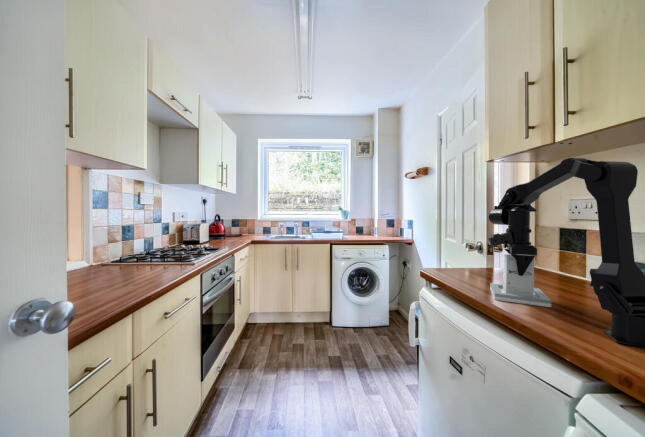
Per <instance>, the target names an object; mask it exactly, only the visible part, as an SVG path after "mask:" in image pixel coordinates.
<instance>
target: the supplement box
mask: <svg viewBox="0 0 645 437" xmlns="http://www.w3.org/2000/svg"><path fill="white" fill-rule="evenodd" d="M502 272H503V273H502V275H503V276H502V285H503V290H504V292H505V293H508V294H516V295H524V296H532V297H533V295H534V288H535V286H534V285H535V284H534V281H535V280H534V279H535V258H534V259H533V260H532V262H531V263H530V265H529V266H528V268H527V270H526V271H525V273H524V275H523V276H519V275H518V271H517V265H516V260H515V258H514V257H513V256H512V255H511V254H509V253H503V270H502Z"/></svg>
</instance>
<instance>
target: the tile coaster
mask: <svg viewBox="0 0 645 437" xmlns="http://www.w3.org/2000/svg"><path fill="white" fill-rule="evenodd" d="M489 284H490V285H489V286H490V287H489V289H490V292H491V295H492V297H493V299H494V301H502V302H509V303H514V304H515V303H518V304H522V305H523V304H525V305H531V306H537V307H538V306H539V307H544V308H545V307H546V308H552V299H550V298H549V296H547V295H546V294H545V293H544V292H543V291H542V290H541V289H540V288H538V287H537V288H535V287H534V295H533V297H532V296H524V295H516V294H508V293H505V292H504V290H503V283H502V284H500V283H493V282H491V283H489Z"/></svg>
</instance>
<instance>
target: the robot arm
mask: <svg viewBox="0 0 645 437" xmlns="http://www.w3.org/2000/svg"><path fill="white" fill-rule="evenodd" d="M638 173H639V170H638V168H637V166H636V165H635V164H633V163H631V162H628V161H616V160H615V161H609V160H606V161H605V160H600V161H598V160H597V161H596V160H591V159H587V158H585V157H568V158H565V159H563V160H561V162H560V163H558V164H557V165H555V166H553V167H552V168H550V169H548V170H546V171H545V172H543V173H542V174H540V175H538V176H537V177H535V178H533V179H532V180H530V181H528V182H525V183H520V184H516V185H514V186H512V187H508V188H507V189H506V190H505V192H504V195H503V197H502V198H501V200H500V201H499V203H498V205H495V206H493V209H492V210H491V211H490V212H489V215H488V221H489V222H490V223H491V224H492V225H497V226H498V225H501V226H507V228H506V229H505V232H504V233H499V232H497V233H494V234H492V235H491V236H489V237H487V239H488V242H489V245H490V246H491V248H495V247H498V246H501V245H503V246H502V247H503V249H504V251H505V252H506V253H507V254H511V255H512V256H513V257H514V258H515V260H516V265H517V271H518V275H519V276H523V275H524V273H525V271H526V270H527V268H528V266H529V265H530V263H531V262H532V260H533V259H534V260H535V258H536V256H538V248H536V246H534V245H533V244H532V242H531V241H530V240H531V234H532V229H531V213H535V212H537V209H536V207H533V206H532V204H533V203H534V202H536V201H537V200H539V198H540V196H541V194H543V193H545V192H547V191H549V190H550V189H553V188H555V187H556V186H559V185H560V184H562V183H564V182H567V181H568V180H570V179H571V178H577V179H582V180H584V183H585V188H586V190H587V191H588V193H589V194H590V195H591V196H592V198H594V200H595V203H596V210H597V219H598V220H597V221H598V233H599V242H600V253H601V262H600V264H599V266H598V267H597V268H590V269H589V275H590V276H589V277H590V280H591V281H590V284H589V287H592V288H593V292H594V294H595V295H596V296H597V299H598V301H599V305H600V307H601V309H602V310H604V311H607V312H609V314H611V321H610V323H611V324H610V329H606V328H605V329H603V332H604V333H605V335H607V336H608V337H609V338H611V339H612V340H613V341H614V342H616V343H618V344H623V345H629V346H634V347H640V348H645V274H644V272H643V271H642V270H641V269H640V268H639V266H638V265H637V264H636V262H635V254H634V253H635V252H634V244H633V242H634V240H633V233H632V222H631V214H630V212H631V211H630V205H629V204H630V203H629V202H630V201H629V198H630V197H631V195H632V193H633V192H634V190H635V189H636V187H637V183H638V182H637V181H638Z"/></svg>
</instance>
